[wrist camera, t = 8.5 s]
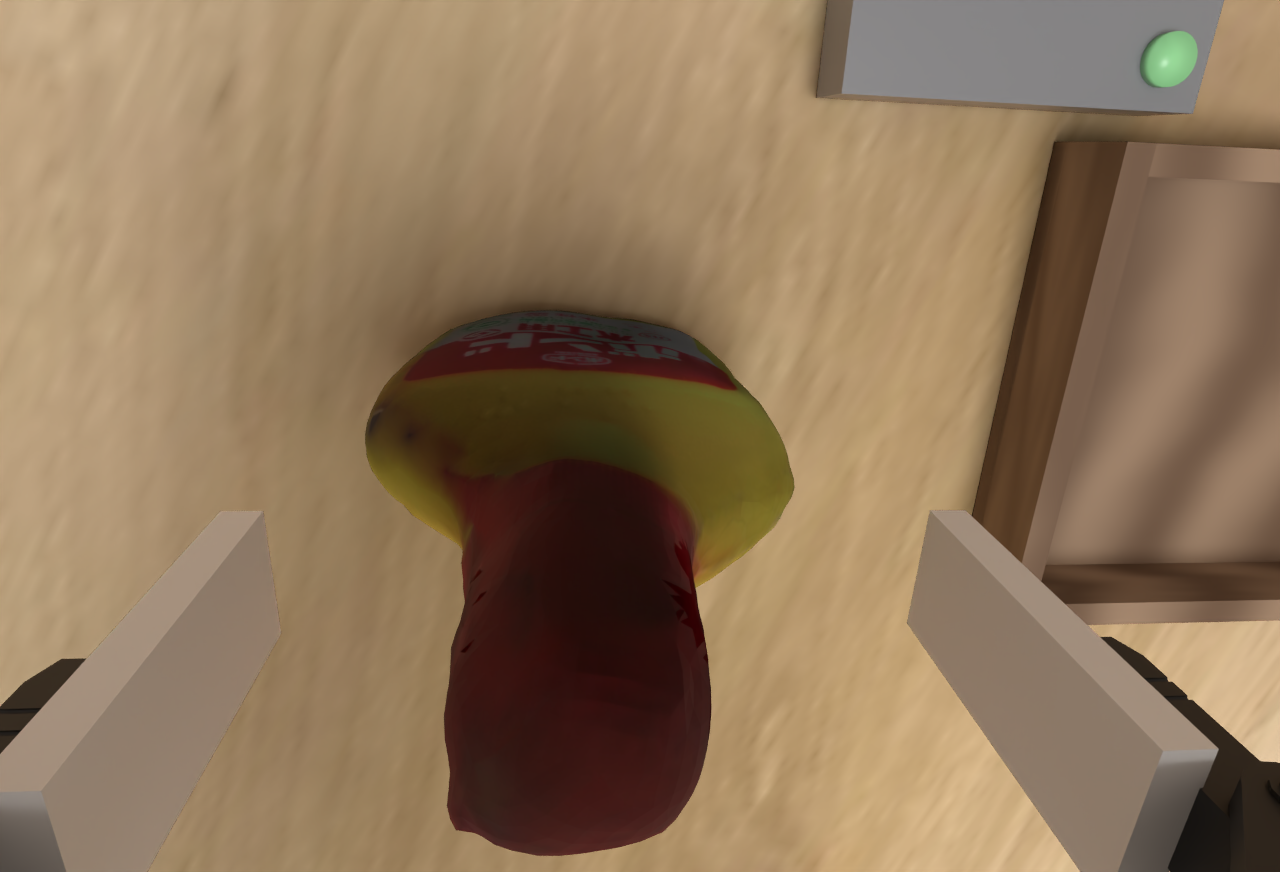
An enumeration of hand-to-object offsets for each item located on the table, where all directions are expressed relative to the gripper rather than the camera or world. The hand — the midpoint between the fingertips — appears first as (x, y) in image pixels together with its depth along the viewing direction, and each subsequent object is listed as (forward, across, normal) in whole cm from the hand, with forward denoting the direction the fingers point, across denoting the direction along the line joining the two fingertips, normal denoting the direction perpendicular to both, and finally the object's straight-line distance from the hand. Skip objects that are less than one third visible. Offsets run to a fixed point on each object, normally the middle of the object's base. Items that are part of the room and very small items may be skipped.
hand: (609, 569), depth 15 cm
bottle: (+15, 0, 0) cm, 15 cm away
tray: (+15, +26, 0) cm, 30 cm away
